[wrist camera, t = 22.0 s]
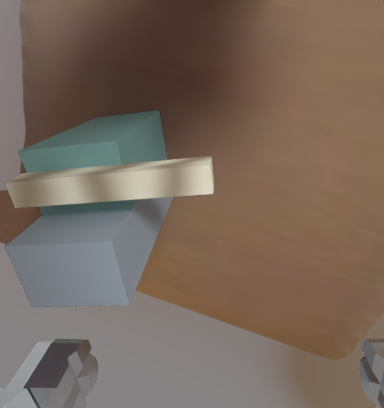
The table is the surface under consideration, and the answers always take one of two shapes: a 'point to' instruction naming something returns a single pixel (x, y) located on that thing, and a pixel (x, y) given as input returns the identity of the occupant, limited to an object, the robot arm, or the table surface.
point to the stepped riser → (91, 218)
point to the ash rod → (113, 182)
